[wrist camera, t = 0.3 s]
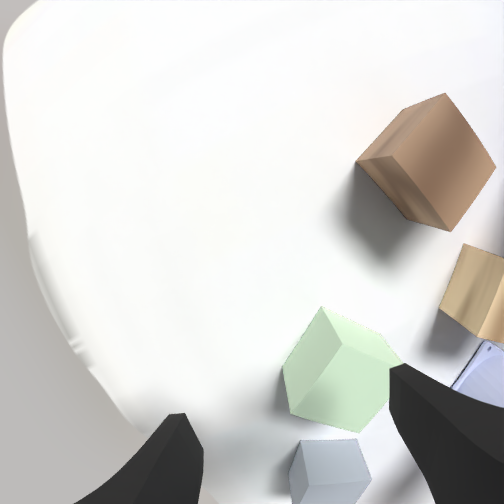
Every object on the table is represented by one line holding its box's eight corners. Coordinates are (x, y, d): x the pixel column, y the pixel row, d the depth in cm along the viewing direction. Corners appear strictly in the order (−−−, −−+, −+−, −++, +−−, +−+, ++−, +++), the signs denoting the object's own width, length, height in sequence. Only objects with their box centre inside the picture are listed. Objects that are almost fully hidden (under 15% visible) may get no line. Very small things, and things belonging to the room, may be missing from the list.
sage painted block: (379, 333, 20) (410, 371, 15) (340, 387, 21) (359, 433, 16) (321, 305, 19) (342, 343, 14) (281, 366, 20) (290, 414, 15)
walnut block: (448, 167, 17) (496, 167, 12) (406, 219, 18) (450, 232, 13) (402, 109, 16) (444, 92, 12) (355, 161, 17) (391, 155, 12)
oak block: (500, 262, 19) (541, 280, 14) (477, 319, 20) (514, 346, 15) (462, 243, 18) (508, 259, 14) (438, 307, 19) (477, 336, 15)
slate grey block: (356, 437, 22) (372, 479, 17) (339, 471, 23) (350, 510, 18) (300, 439, 22) (309, 485, 17) (288, 472, 23) (293, 514, 18)
